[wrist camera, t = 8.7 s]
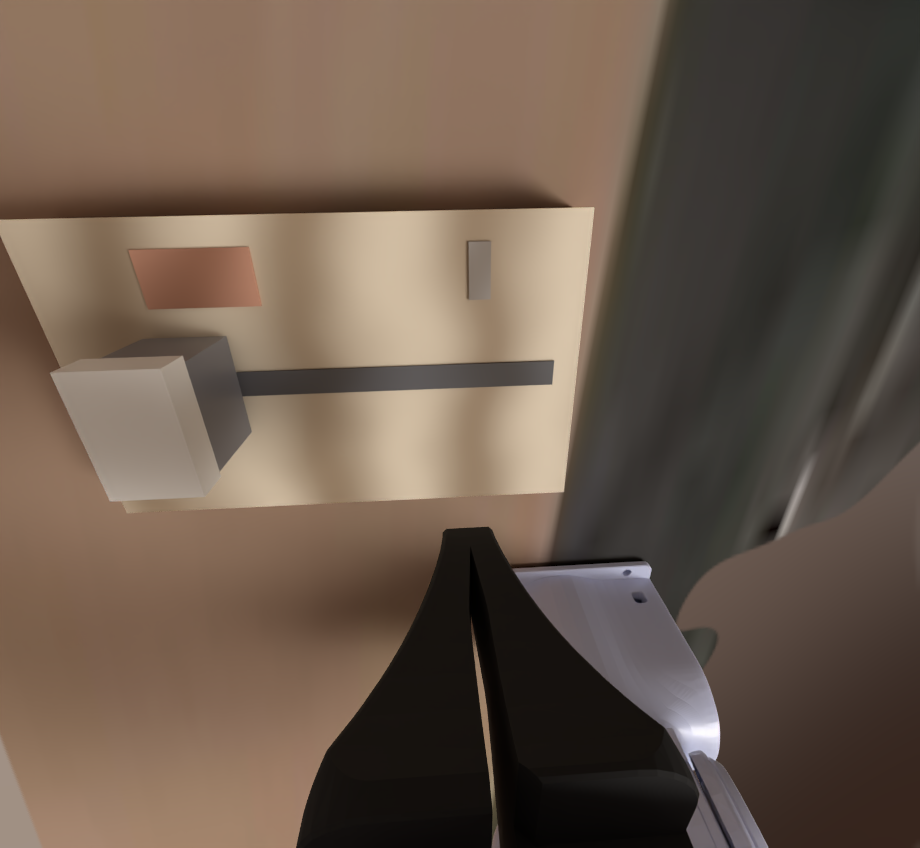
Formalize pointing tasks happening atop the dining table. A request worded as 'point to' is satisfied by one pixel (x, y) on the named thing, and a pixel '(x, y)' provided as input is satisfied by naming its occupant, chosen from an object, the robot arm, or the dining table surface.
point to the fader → (157, 415)
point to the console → (343, 339)
